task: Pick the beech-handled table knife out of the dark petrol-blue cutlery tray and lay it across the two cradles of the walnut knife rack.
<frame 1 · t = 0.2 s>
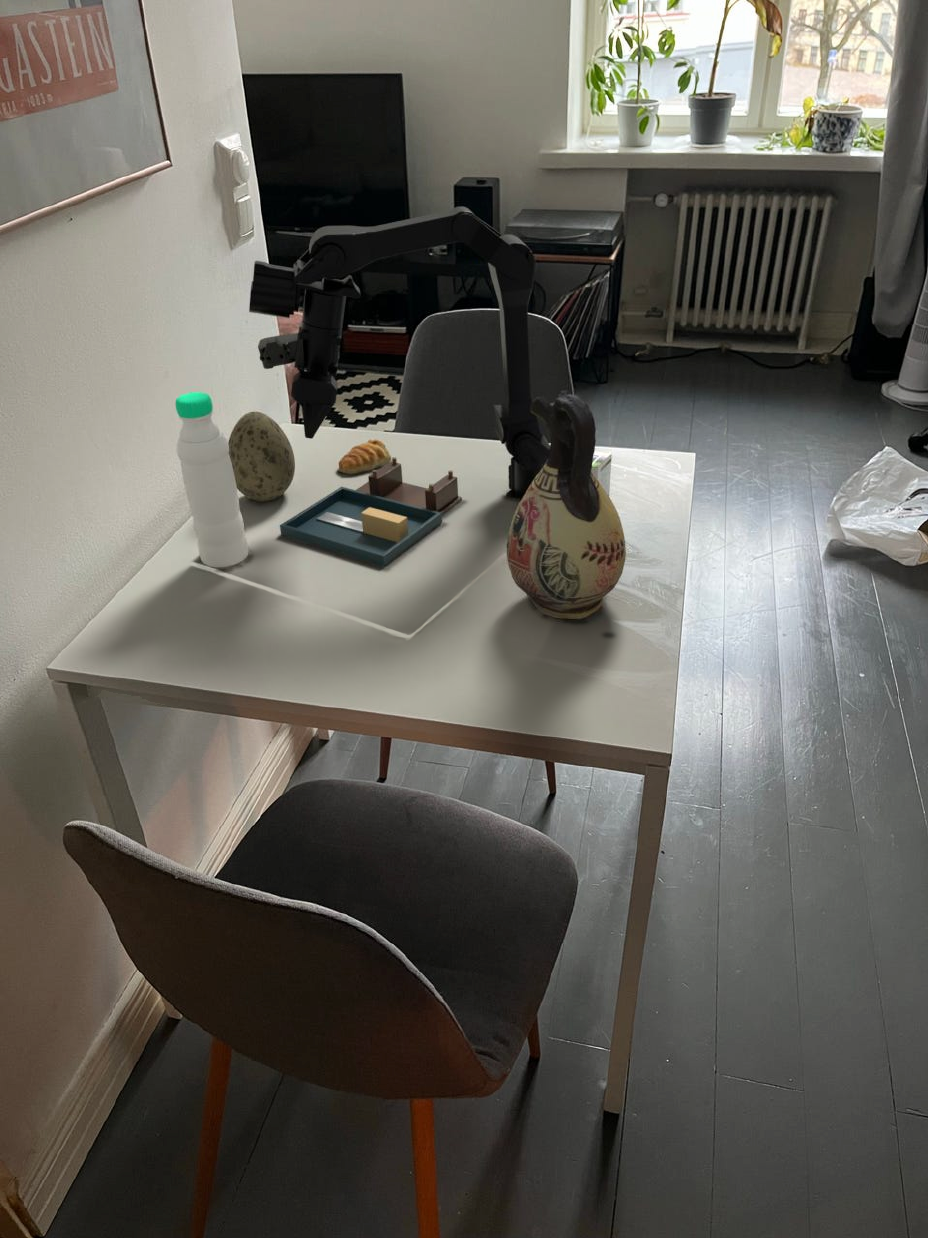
hand: (310, 426, 140), 15 cm above the table, tool pointing down, fingers open, 9 cm apart
pastry: (366, 466, 164), on the table
decorative egg: (267, 499, 155), on the table
ceramic jug: (566, 606, 125), on the table
cutlery tray: (362, 531, 144), on the table
syrup box: (582, 548, 138), on the table
knife: (362, 528, 144), resting on cutlery tray
water bottle: (225, 559, 139), on the table
knife rack: (406, 499, 152), on the table
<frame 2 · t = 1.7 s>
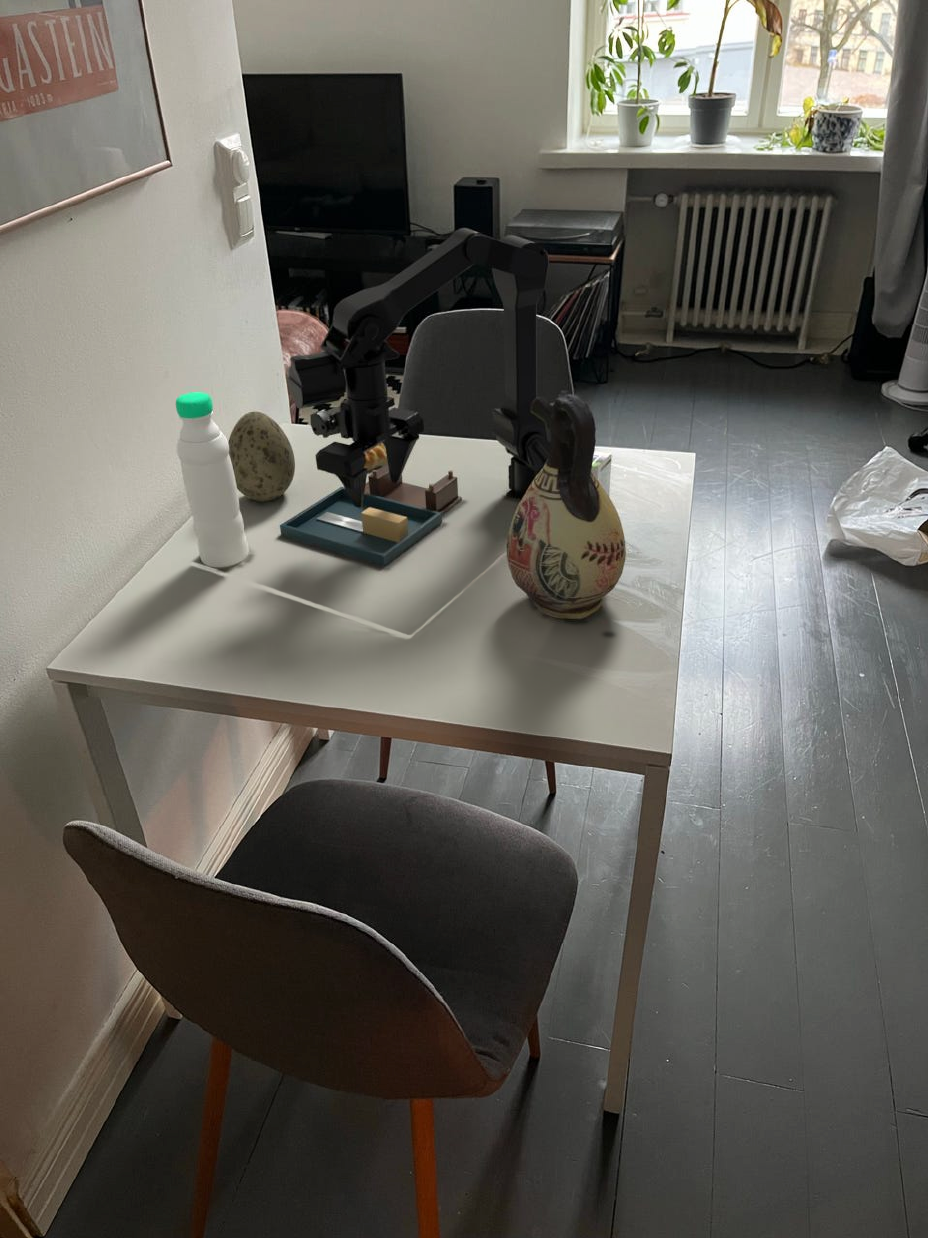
hand: (376, 494, 139), 7 cm above the table, tool pointing down, fingers open, 9 cm apart
nothing on the table moved.
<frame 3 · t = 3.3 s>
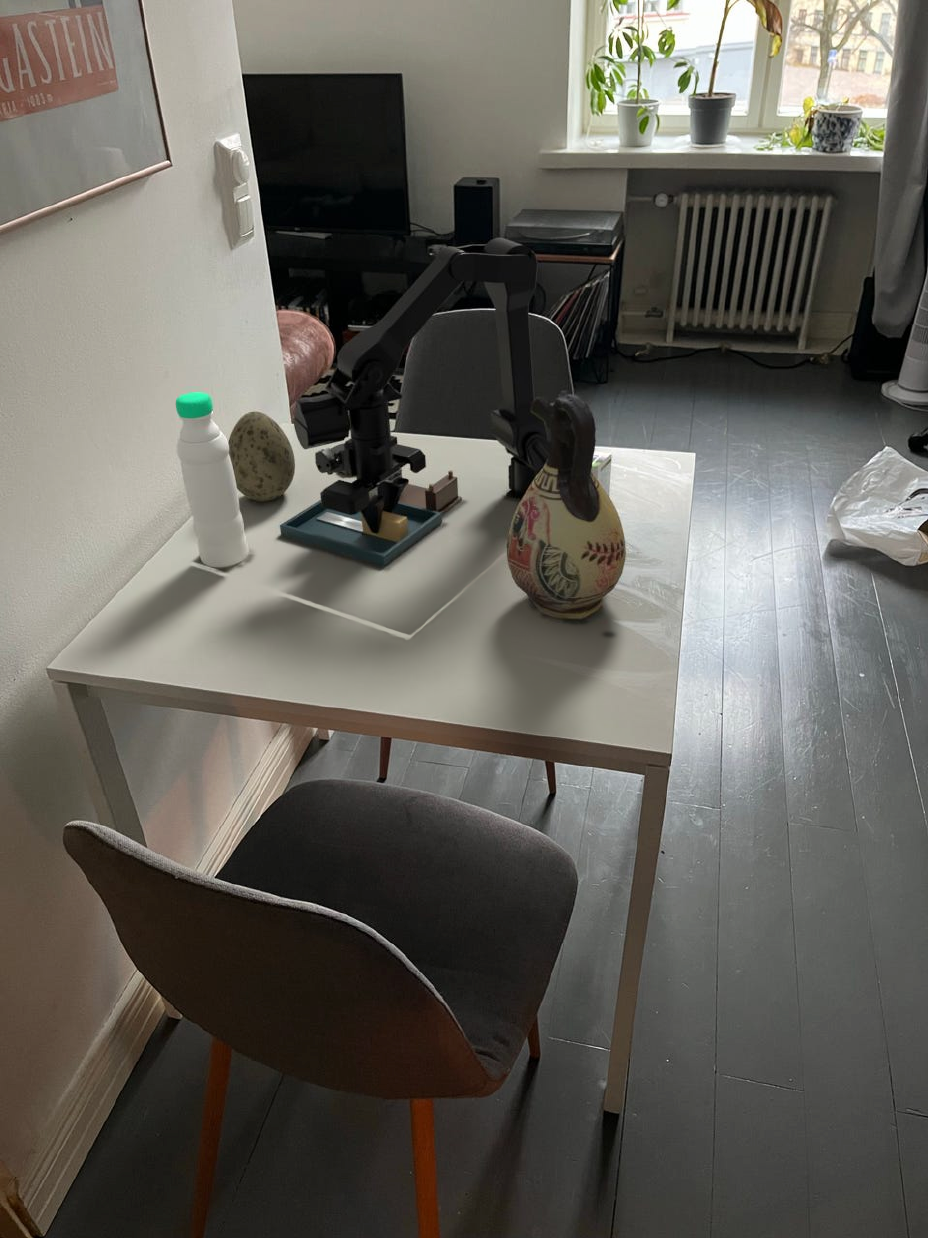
hand: (380, 529, 142), 1 cm above the table, tool pointing down, fingers closed on knife, 2 cm apart
knife: (362, 528, 144), resting on cutlery tray, touching gripper
everything else where it was.
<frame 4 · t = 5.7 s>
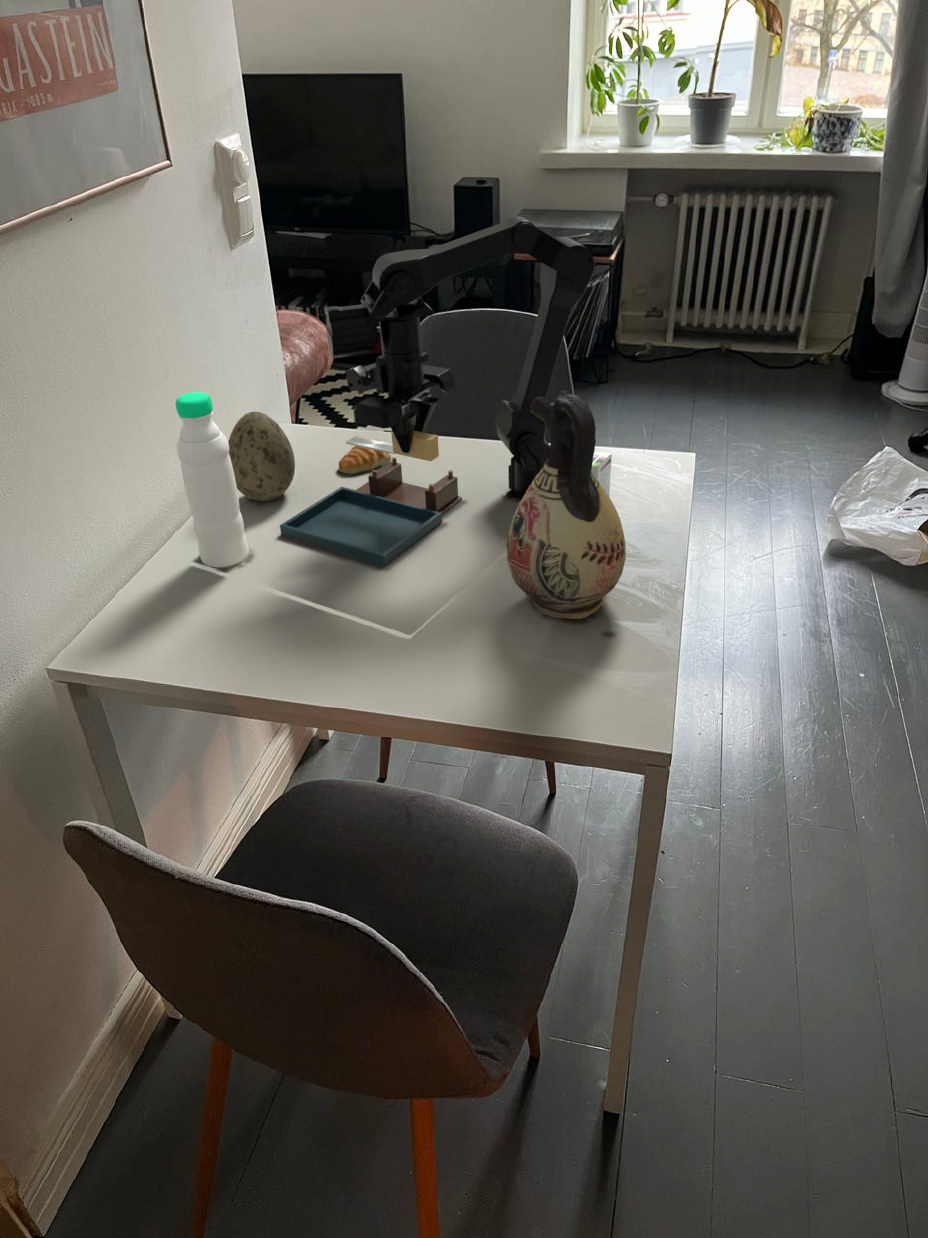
hand: (410, 449, 143), 11 cm above the table, tool pointing down, fingers closed on knife, 2 cm apart
knife: (391, 449, 145), point 10 cm above the table, touching gripper
everything else where it was.
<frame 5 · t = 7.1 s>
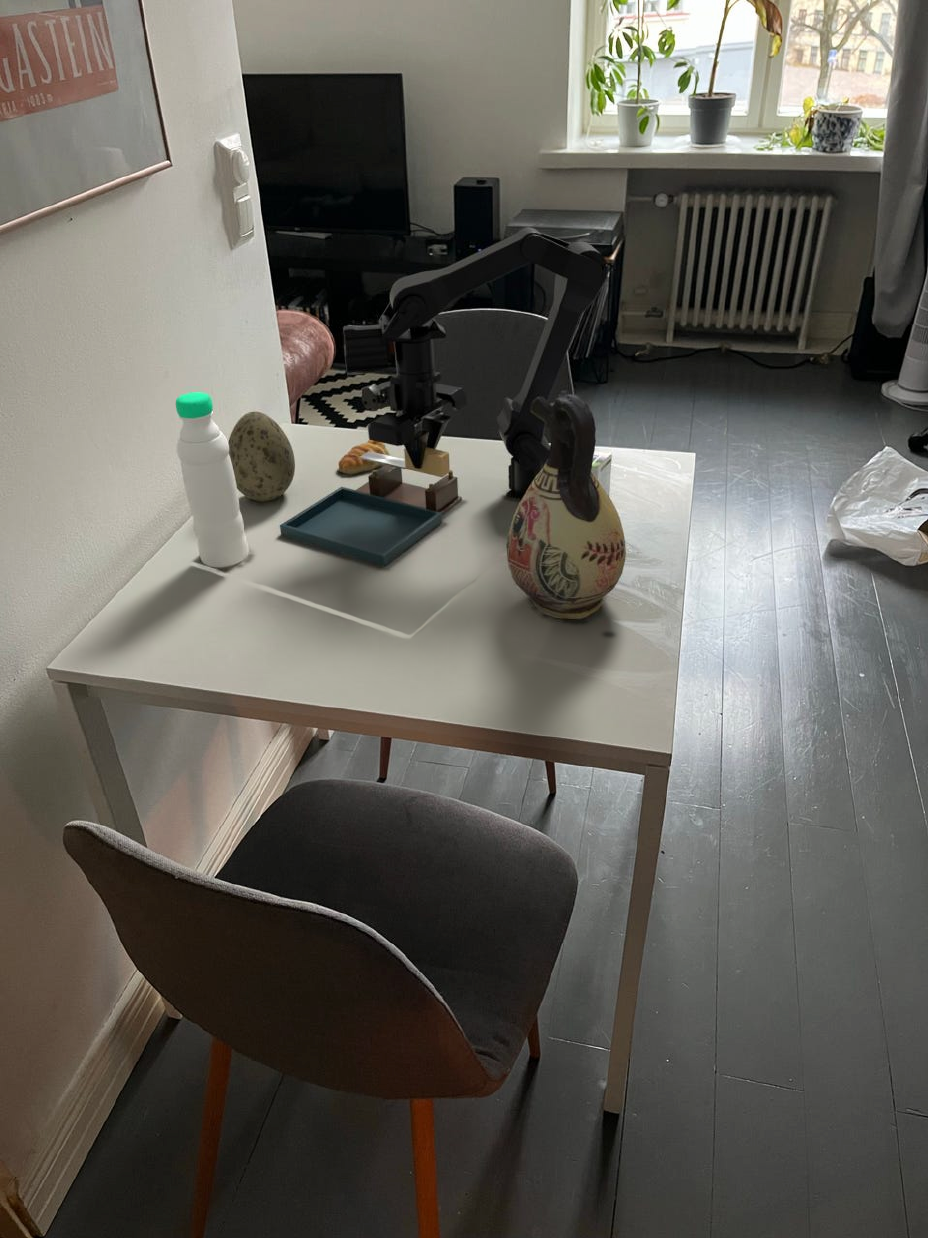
hand: (422, 465, 147), 7 cm above the table, tool pointing down, fingers closed on knife, 2 cm apart
knife: (404, 464, 149), point 6 cm above the table, touching gripper
everything else where it was.
when the fingers open (5 cm above the table, at t = 7.9 s): knife stays where it is, resting on knife rack.
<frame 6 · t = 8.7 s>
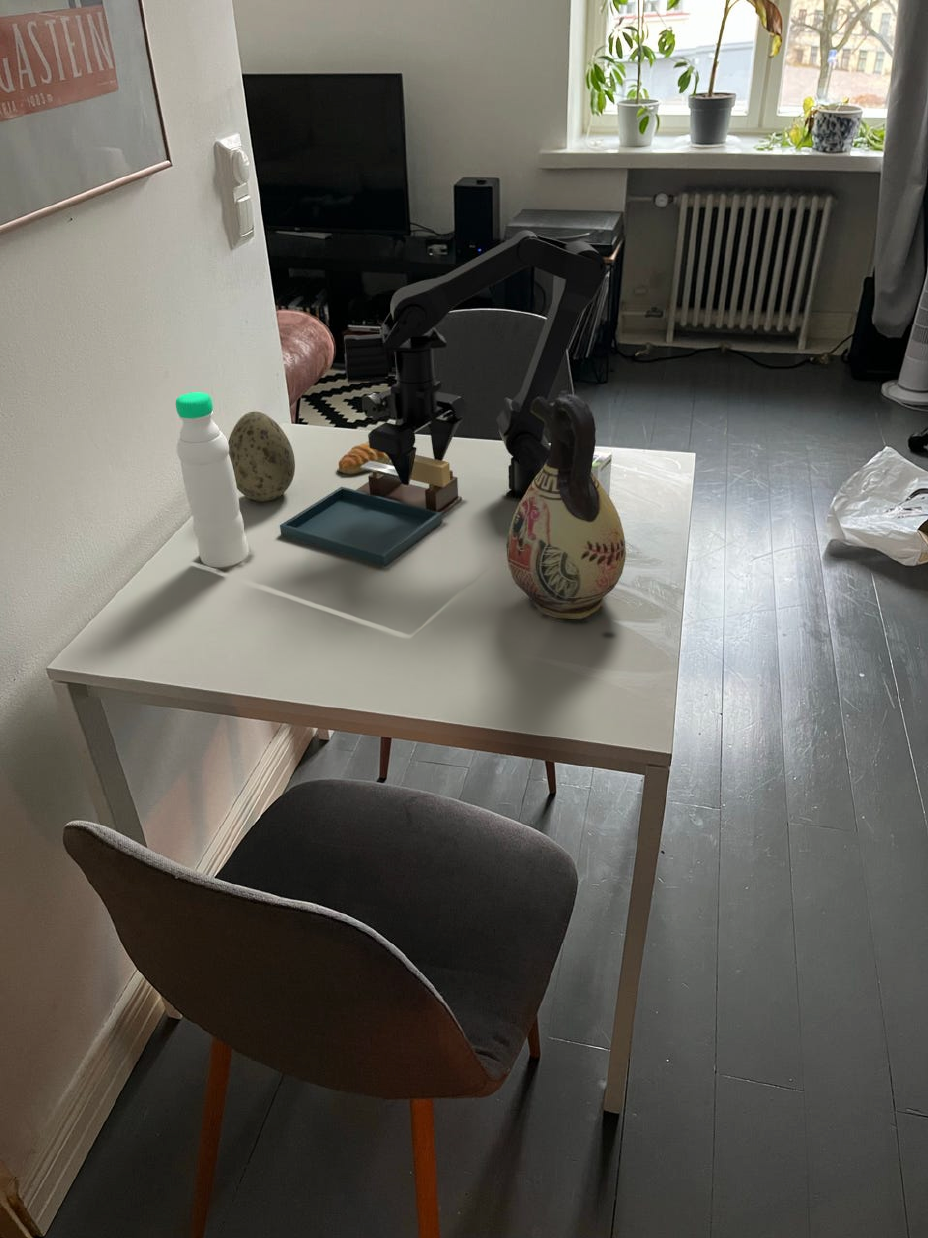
hand: (422, 473, 148), 6 cm above the table, tool pointing down, fingers open, 9 cm apart
knife: (405, 474, 150), point 4 cm above the table, touching knife rack
everything else where it was.
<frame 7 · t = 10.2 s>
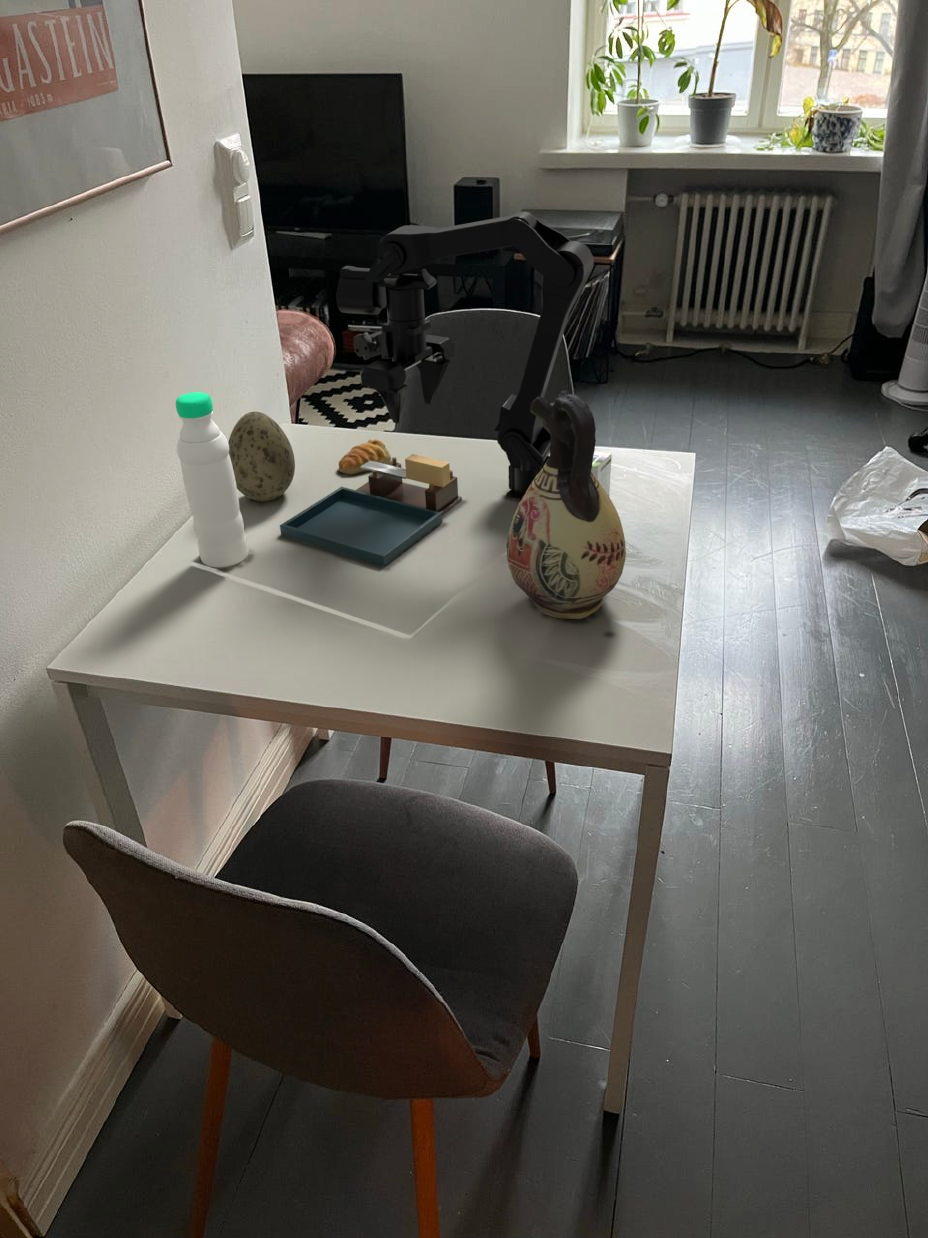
hand: (412, 413, 152), 12 cm above the table, tool pointing down, fingers open, 9 cm apart
nothing on the table moved.
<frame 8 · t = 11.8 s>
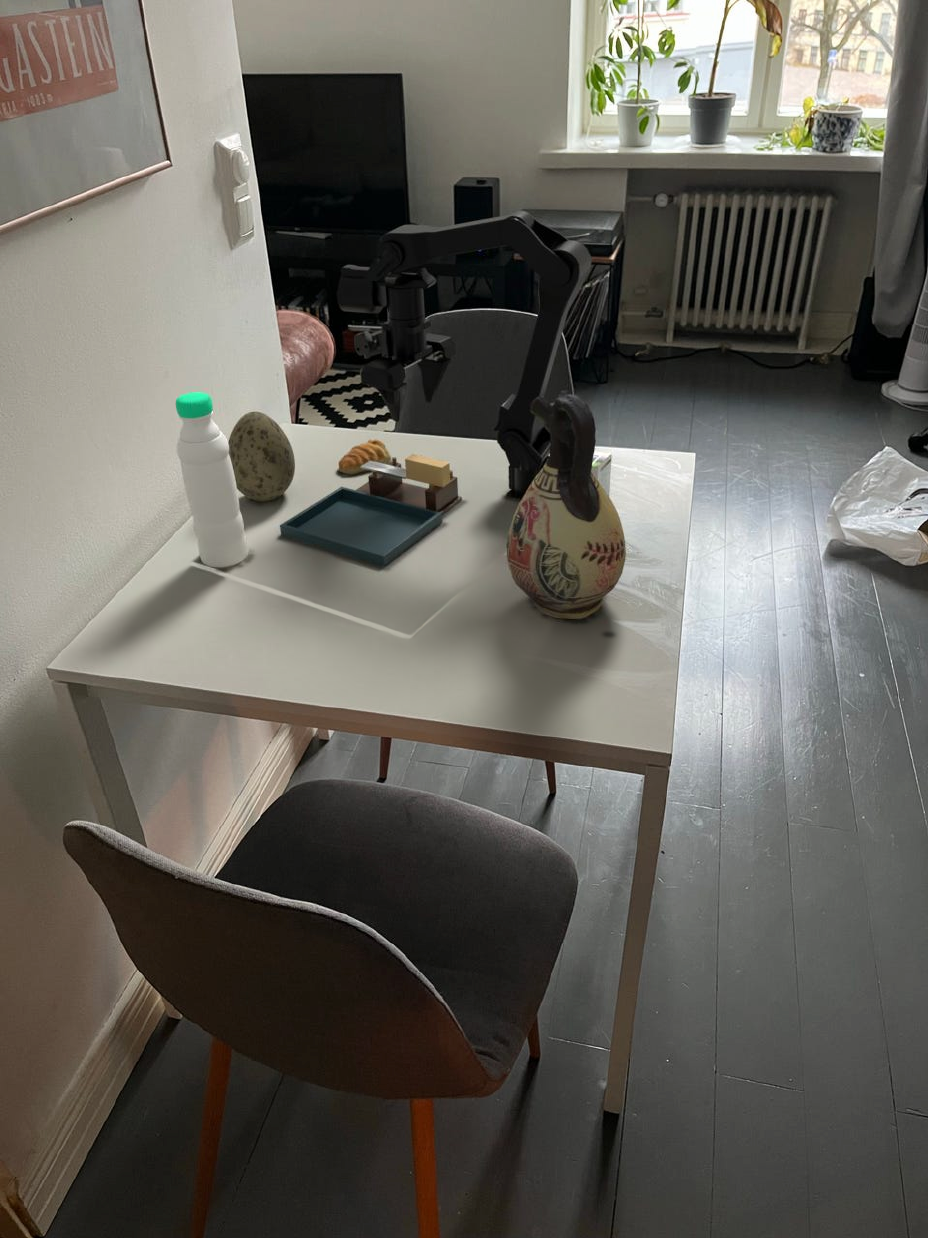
hand: (413, 411, 152), 12 cm above the table, tool pointing down, fingers open, 9 cm apart
nothing on the table moved.
at the end: knife 0.0 cm off-centre on the knife rack, point 4.5 cm above the knife rack's base; knife touching knife rack; knife tilted 0° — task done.
